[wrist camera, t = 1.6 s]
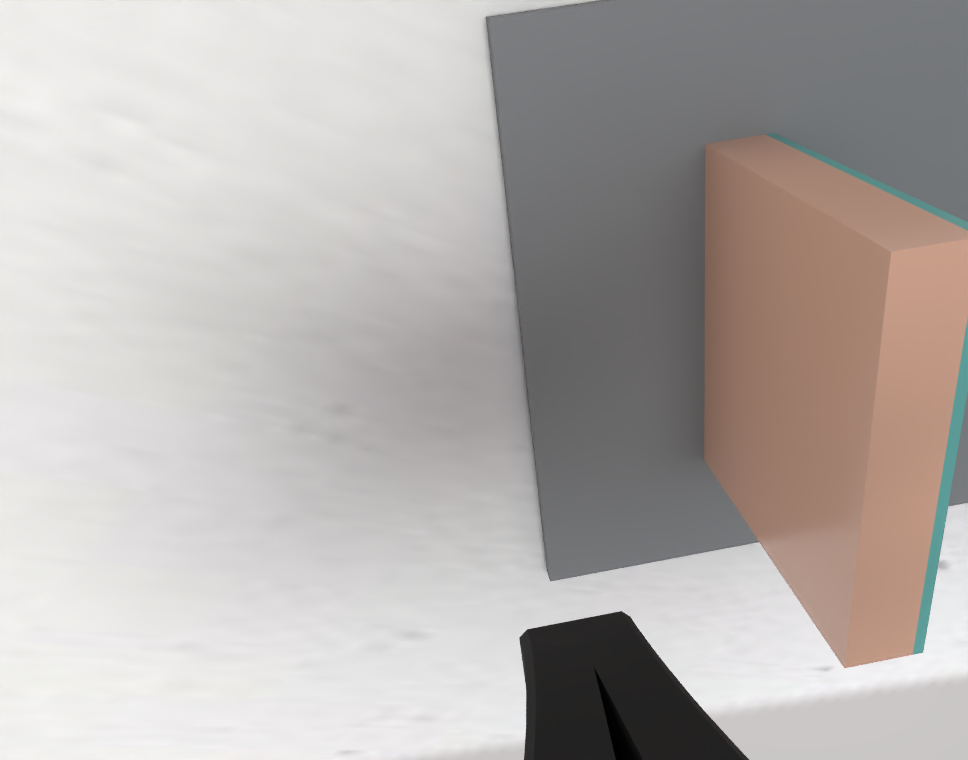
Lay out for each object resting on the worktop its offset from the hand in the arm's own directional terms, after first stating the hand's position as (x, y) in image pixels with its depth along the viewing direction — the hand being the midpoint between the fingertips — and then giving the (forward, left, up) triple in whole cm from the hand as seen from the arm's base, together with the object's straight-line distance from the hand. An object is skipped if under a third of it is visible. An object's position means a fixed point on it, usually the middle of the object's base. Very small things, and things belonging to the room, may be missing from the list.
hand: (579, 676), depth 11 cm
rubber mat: (-10, 0, -10) cm, 14 cm away
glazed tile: (-6, 0, -10) cm, 11 cm away
